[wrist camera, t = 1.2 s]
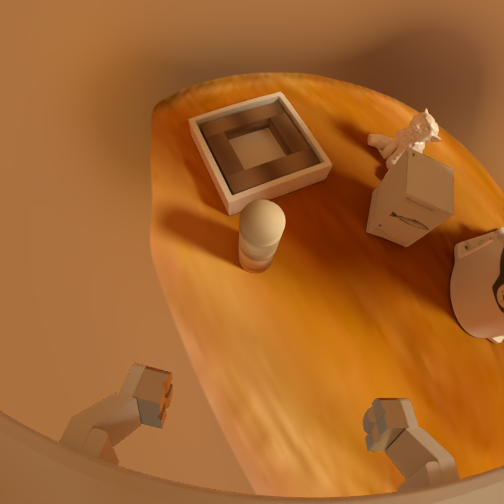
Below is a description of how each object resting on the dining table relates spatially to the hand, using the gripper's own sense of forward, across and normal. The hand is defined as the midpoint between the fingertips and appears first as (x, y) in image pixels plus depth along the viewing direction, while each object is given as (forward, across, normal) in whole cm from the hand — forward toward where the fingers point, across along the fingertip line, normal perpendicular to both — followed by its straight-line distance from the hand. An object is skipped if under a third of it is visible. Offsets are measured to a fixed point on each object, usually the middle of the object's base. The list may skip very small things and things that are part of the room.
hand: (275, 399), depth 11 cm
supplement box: (+36, -18, +3) cm, 40 cm away
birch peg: (+29, +1, +9) cm, 31 cm away
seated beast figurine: (+44, -20, -6) cm, 49 cm away
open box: (+40, +4, -2) cm, 41 cm away
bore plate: (+40, +4, -3) cm, 40 cm away
